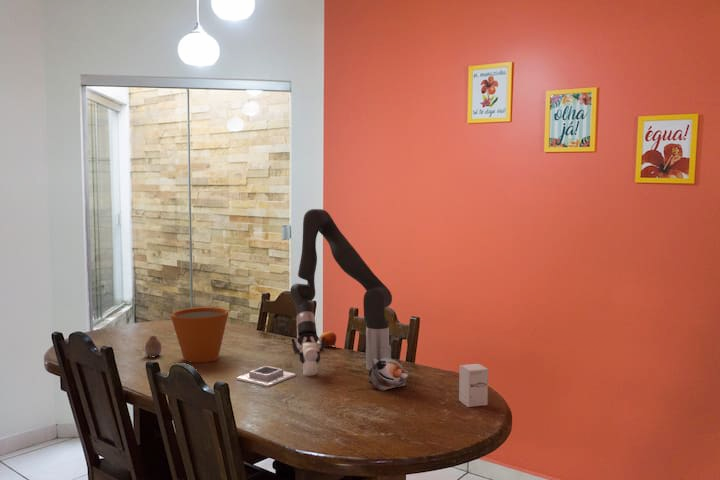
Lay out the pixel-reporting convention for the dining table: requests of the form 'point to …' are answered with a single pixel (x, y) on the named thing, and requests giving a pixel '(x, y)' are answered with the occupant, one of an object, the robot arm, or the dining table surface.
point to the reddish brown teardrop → (153, 347)
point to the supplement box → (473, 385)
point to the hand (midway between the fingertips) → (310, 362)
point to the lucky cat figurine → (387, 374)
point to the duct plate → (266, 376)
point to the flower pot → (200, 332)
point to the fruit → (329, 338)
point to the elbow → (309, 358)
